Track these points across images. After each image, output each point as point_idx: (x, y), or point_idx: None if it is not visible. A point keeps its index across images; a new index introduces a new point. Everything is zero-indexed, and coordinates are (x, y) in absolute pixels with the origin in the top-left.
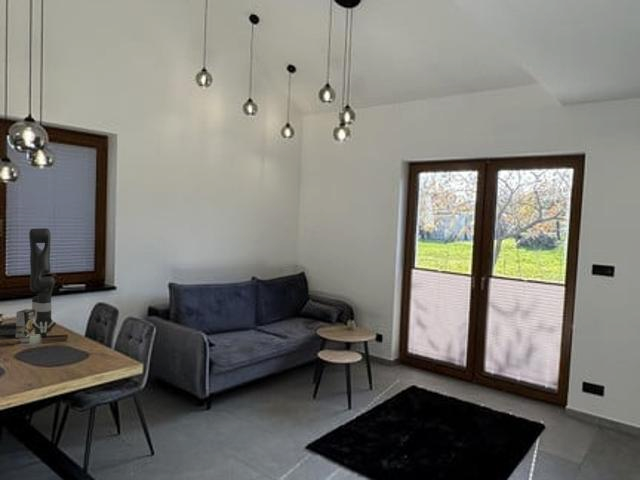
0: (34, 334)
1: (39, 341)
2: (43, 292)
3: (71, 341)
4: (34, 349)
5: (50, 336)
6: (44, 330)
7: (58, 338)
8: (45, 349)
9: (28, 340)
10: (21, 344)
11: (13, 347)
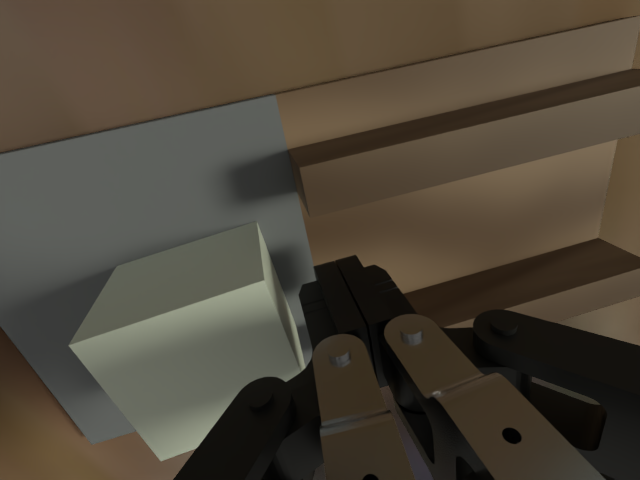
0: (159, 321)
1: (295, 329)
2: None
3: (635, 196)
4: (316, 473)
5: (425, 181)
6: (417, 431)
7: (547, 320)
8: (408, 457)
9: (54, 219)
10: (94, 410)
11: (53, 465)
